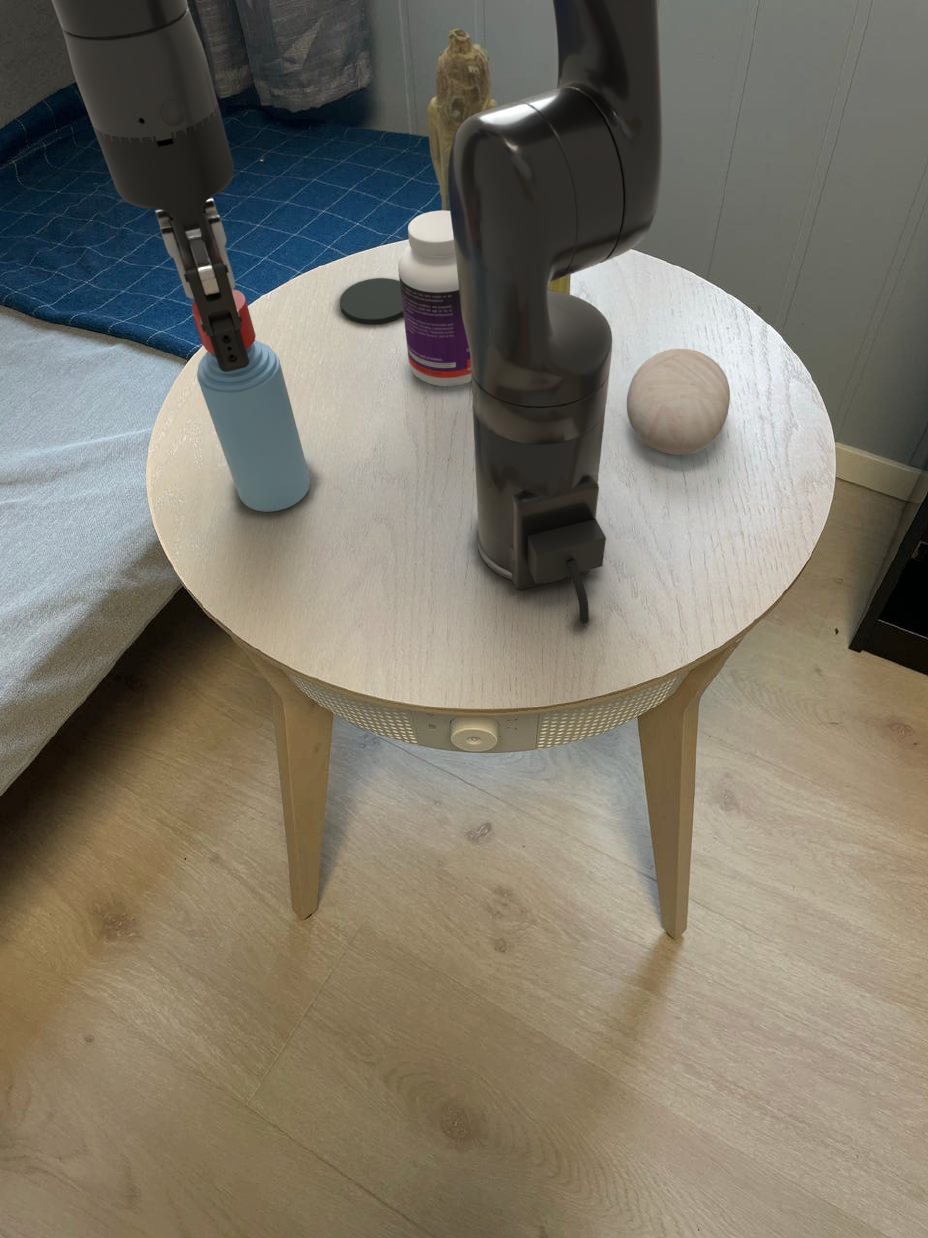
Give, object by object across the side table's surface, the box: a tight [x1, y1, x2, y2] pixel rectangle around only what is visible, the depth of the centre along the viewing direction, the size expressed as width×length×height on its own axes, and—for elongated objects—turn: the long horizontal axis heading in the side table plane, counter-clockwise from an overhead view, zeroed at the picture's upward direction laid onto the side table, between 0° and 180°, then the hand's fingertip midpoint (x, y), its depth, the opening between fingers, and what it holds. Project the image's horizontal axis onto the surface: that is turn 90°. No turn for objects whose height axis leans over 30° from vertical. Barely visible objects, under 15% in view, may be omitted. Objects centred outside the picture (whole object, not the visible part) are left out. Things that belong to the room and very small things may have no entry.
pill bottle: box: [397, 210, 472, 387], centre depth 80 cm, size 8×8×14 cm
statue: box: [426, 27, 499, 211], centre depth 84 cm, size 7×8×25 cm
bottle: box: [196, 339, 311, 513], centre depth 69 cm, size 6×6×17 cm
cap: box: [191, 288, 256, 354], centre depth 63 cm, size 4×4×3 cm
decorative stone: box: [626, 348, 731, 455], centre depth 76 cm, size 13×9×5 cm
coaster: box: [339, 277, 404, 325], centre depth 93 cm, size 8×8×1 cm
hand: (229, 349), depth 64 cm, fingers closed on cap, 4 cm apart
